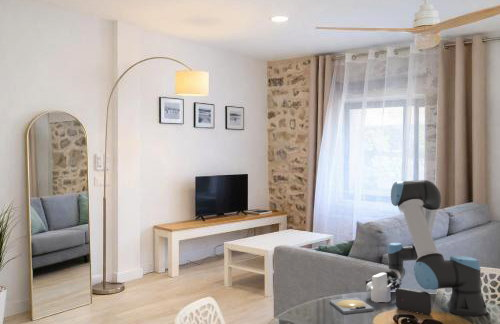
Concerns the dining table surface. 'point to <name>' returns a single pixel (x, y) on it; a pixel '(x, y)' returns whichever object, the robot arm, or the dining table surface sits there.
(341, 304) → the plate
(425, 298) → the black two-tone rounded device
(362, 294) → the dining table surface
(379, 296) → the base with upright slab
